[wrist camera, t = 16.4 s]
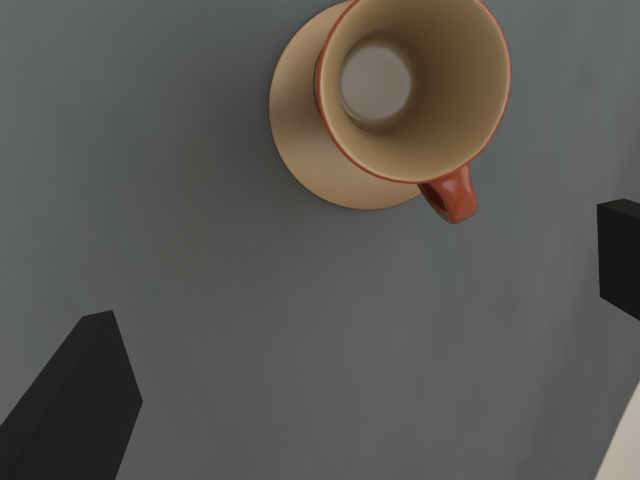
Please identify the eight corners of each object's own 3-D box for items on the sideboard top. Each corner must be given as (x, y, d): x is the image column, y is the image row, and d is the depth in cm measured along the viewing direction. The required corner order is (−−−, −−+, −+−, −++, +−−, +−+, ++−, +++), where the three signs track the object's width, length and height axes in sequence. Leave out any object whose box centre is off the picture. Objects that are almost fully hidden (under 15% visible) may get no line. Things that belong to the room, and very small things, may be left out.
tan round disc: (479, 186, 36) (481, 187, 36) (292, 226, 36) (292, 228, 35) (457, -21, 32) (460, -22, 32) (247, 20, 32) (247, 19, 31)
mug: (272, 51, 32) (280, 37, 22) (402, -19, 32) (469, -65, 22) (359, 221, 36) (398, 274, 26) (476, 159, 35) (561, 189, 25)
